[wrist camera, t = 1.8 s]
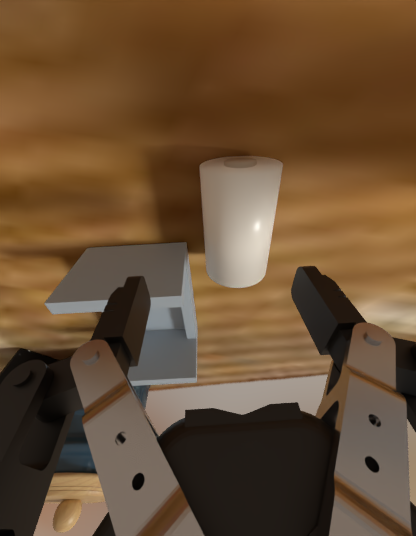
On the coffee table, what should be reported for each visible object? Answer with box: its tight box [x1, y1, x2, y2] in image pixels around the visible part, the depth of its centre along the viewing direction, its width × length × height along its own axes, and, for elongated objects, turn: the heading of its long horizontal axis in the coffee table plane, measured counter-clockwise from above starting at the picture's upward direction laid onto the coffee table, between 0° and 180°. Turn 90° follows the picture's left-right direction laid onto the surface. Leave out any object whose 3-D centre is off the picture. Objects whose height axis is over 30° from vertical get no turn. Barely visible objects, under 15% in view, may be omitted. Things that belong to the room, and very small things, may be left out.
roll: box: [199, 156, 283, 288], centre depth 17 cm, size 9×6×6 cm
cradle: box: [44, 242, 197, 386], centre depth 22 cm, size 10×14×8 cm
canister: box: [44, 385, 150, 533], centre depth 29 cm, size 13×13×18 cm
